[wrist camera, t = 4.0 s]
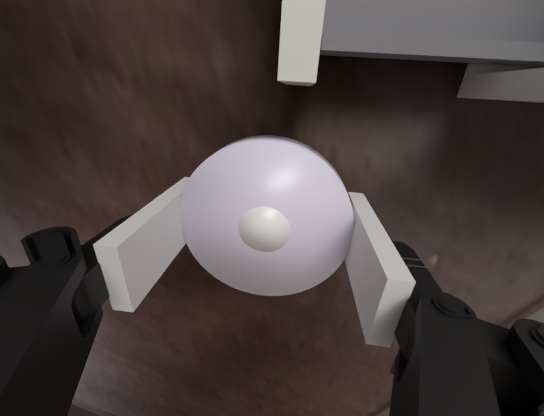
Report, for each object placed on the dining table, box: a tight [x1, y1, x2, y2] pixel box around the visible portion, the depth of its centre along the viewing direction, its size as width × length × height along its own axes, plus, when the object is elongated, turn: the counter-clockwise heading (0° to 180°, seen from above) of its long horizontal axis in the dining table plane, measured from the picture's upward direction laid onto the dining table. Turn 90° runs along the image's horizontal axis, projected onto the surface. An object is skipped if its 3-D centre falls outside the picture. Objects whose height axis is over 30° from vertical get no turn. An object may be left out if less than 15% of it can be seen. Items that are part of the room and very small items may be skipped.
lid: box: [180, 135, 354, 296], centre depth 12 cm, size 8×8×2 cm
